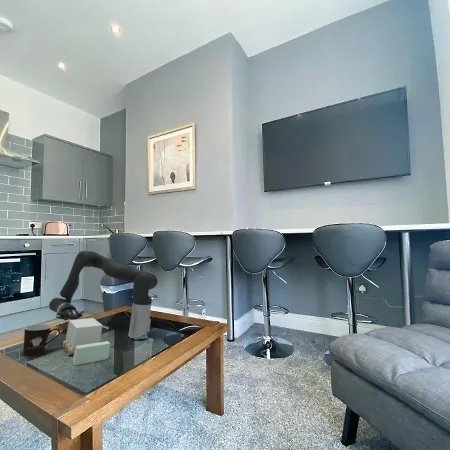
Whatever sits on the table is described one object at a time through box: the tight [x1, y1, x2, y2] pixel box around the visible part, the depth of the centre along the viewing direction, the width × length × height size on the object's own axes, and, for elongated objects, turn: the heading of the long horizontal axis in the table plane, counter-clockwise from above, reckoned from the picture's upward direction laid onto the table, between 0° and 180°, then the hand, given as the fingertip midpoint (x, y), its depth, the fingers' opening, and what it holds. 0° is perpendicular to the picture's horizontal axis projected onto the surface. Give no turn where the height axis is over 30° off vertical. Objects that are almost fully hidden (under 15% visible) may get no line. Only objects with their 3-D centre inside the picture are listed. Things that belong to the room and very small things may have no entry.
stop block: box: [72, 340, 111, 366], centre depth 97 cm, size 12×3×6 cm, turn 134°
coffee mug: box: [22, 323, 61, 357], centre depth 99 cm, size 12×9×10 cm
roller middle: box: [64, 344, 71, 353], centre depth 107 cm, size 12×3×3 cm, turn 134°
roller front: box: [66, 347, 75, 356], centre depth 104 cm, size 12×3×3 cm, turn 134°
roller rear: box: [62, 339, 69, 349], centre depth 110 cm, size 12×3×3 cm, turn 134°
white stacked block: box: [65, 317, 103, 349], centre depth 108 cm, size 10×13×8 cm
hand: (74, 318), depth 120 cm, fingers closed
